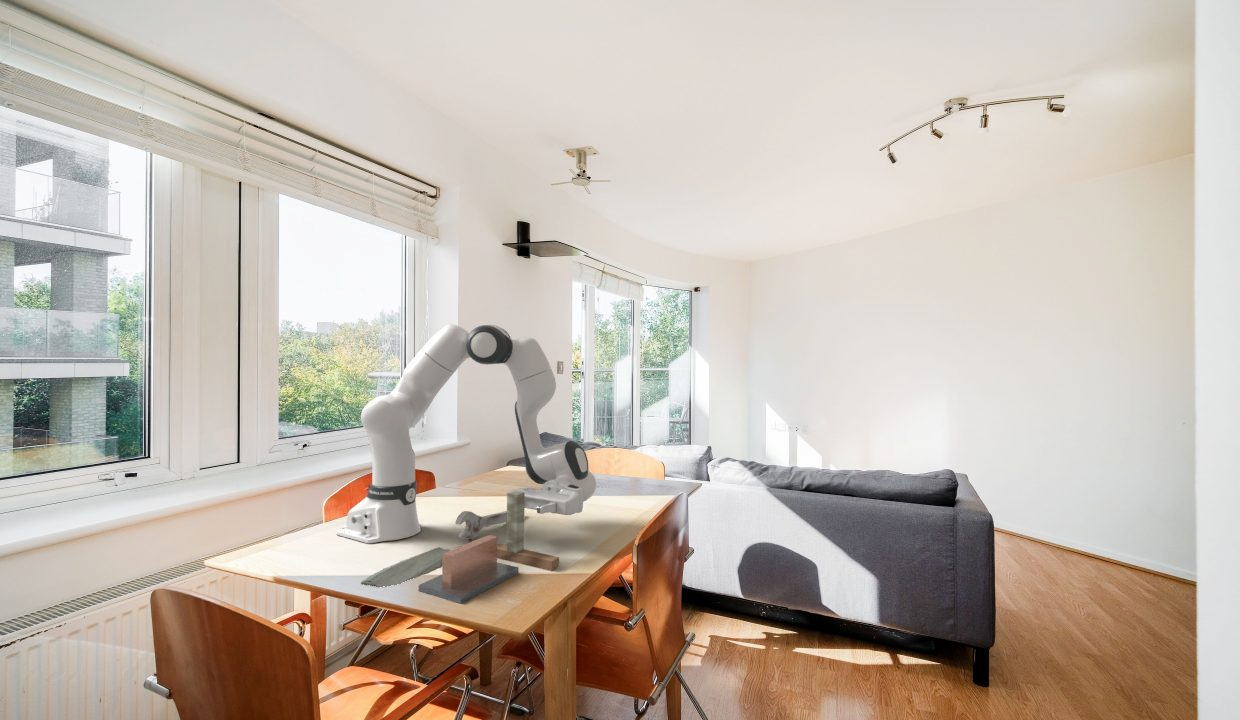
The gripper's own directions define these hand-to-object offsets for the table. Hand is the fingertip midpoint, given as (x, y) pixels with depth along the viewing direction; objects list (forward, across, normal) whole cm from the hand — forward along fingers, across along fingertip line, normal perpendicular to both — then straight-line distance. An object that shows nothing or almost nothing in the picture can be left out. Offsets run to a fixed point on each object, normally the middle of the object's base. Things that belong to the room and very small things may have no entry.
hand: (524, 507), depth 135 cm
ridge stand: (+18, 0, +12) cm, 22 cm away
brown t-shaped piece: (+3, 0, +12) cm, 13 cm away
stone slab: (+20, -16, +13) cm, 29 cm away
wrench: (-12, -20, +12) cm, 27 cm away
